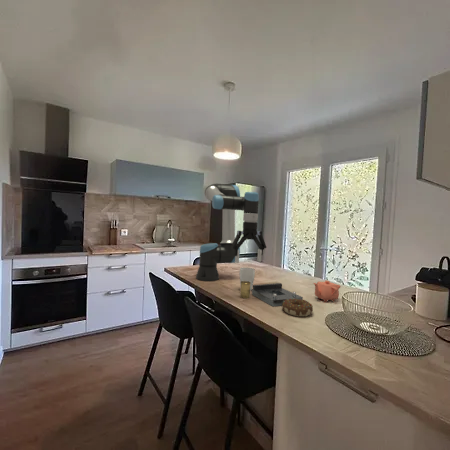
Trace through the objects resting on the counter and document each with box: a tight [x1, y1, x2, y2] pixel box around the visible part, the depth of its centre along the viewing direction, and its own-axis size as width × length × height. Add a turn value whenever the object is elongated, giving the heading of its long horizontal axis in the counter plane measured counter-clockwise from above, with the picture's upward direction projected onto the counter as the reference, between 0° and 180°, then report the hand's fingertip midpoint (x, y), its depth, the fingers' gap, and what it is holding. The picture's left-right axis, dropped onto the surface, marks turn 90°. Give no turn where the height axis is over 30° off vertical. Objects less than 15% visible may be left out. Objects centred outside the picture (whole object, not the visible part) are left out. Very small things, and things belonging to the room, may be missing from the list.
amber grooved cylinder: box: [239, 281, 251, 300], centre depth 141 cm, size 5×5×8 cm
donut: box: [281, 299, 314, 317], centre depth 123 cm, size 14×14×5 cm
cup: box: [238, 267, 256, 292], centre depth 156 cm, size 9×9×12 cm
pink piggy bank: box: [312, 280, 341, 303], centre depth 143 cm, size 14×12×10 cm
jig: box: [251, 282, 304, 308], centre depth 141 cm, size 20×18×5 cm
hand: (248, 262), depth 140 cm, fingers open, 13 cm apart
